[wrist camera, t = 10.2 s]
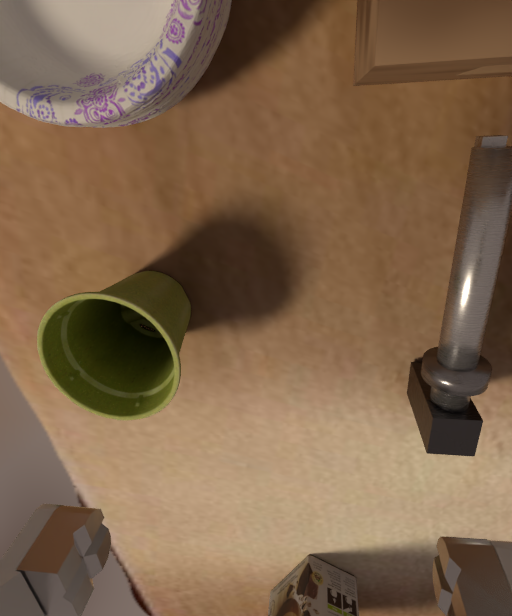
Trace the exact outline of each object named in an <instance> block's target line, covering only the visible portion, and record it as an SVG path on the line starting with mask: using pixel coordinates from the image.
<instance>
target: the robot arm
mask: <svg viewBox="0 0 512 616" xmlns="http://www.w3.org/2000/svg"><path fill="white" fill-rule="evenodd" d="M103 519H104V516H103V513H102V511H101V509H95V508H84V507H73V506H64V505H52V504H42V505H41V506H40V507H39V508H38V509H36V510H35V512H34V513H33V515H32V516H31V517H30V519H29V520H28V522H27V523H26V524H25V526H24V527H23V529H22V530H21V532H20V533H19V534H18V536H17V537H16V539H15V540H14V542H13V543H12V545H11V546H10V547H9V549H8V550H7V552H6V553H5V555H4V556H3V557H2V559H1V560H0V616H81V615H82V613H83V611H84V609H85V606H86V604H87V602H88V600H89V598H90V596H91V594H92V592H93V589H94V587H93V580H92V579H93V578H94V577H95V576H96V575H97V574H98V573H99V572H101V571H102V569H103V567H104V565H105V563H106V561H107V558H108V555H109V551H110V546H111V535H110V532H109V529H108V528H107V527H105V526H104V525H103V524H102V521H103ZM437 549H438V553H439V555H438V556H437V557H435V558H434V561H433V567H432V572H433V585H434V592H435V596H436V601H437V605H438V607H439V608H440V609H441V610H442V611H443V613H444V614H445V615H446V616H512V542H507V541H491V540H487V539H472V538H456V537H440V538H439V539H438V542H437Z"/></svg>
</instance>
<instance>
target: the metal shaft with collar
mask: <svg viewBox="0 0 512 616" xmlns="http://www.w3.org/2000/svg"><path fill="white" fill-rule="evenodd" d="M507 138H508V136H503V135H494V136H476V140H475V146H474V147H473V148H472V150H471V155H470V161H469V167H468V173H467V179H466V185H465V191H464V197H463V203H462V209H461V215H460V221H459V227H458V233H457V239H456V245H455V251H454V257H453V262H452V268H451V274H450V280H449V286H448V292H447V298H446V304H445V310H444V316H443V322H442V328H441V334H440V340H439V346H438V347H434V348H431V349H429V350H427V351H426V352H425V353H424V355H423V361H422V363H420V362H411V367H410V374H409V382H408V389H407V395H408V398H409V401H410V404H411V407H412V410H413V413H414V416H415V419H416V422H417V425H418V428H419V431H420V434H421V437H422V440H423V443H424V446H425V449H426V452H427V453H430V454H445V455H461V456H475V452H476V448H477V444H478V439H479V435H480V431H481V427H482V423H483V420H482V418H481V416H480V414H479V413H478V411H477V409H476V407H475V405H474V403H473V402H472V400H471V398H470V397H471V396H474V395H478V394H481V393H483V392H484V391H485V390H486V389H487V388H488V383H489V379H490V375H491V371H492V367H491V364H490V363H489V362H488V361H487V360H486V359H485V358H484V357H483V356H481V355H480V352H481V348H482V343H483V339H484V334H485V330H486V325H487V321H488V316H489V312H490V307H491V303H492V298H493V294H494V289H495V284H496V280H497V275H498V271H499V266H500V262H501V257H502V253H503V248H504V244H505V239H506V235H507V230H508V226H509V221H510V217H511V212H512V146H506V143H507Z"/></svg>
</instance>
